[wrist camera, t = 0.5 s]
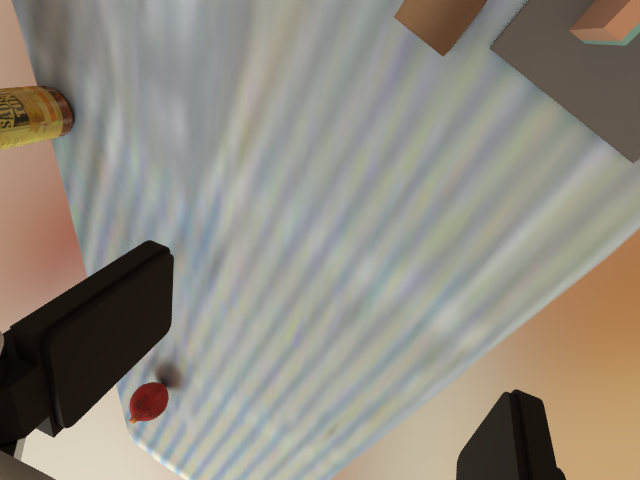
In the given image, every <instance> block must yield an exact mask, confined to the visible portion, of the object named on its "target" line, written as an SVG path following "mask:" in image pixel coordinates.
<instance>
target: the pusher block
mask: <svg viewBox="0 0 640 480" xmlns="http://www.w3.org/2000/svg"><path fill="white" fill-rule="evenodd" d="M486 2H487V0H405V1H404V2H403V4H402V5H401V7H400V8H399V10H398V11H397V13H396V14H395V16H394V18H396V19H397V20H398V21H399V22H401V23H402V24H403V25H404V26H406V27H407V28H408V29H409V30H411V31H412V32H413V33H414V34H416V35H417V36H418V37H419V38H421V39H422V40H423V41H424V42H426V43H427V44H428V45H429V46H431V47H432V48H433V49H434V50H436V51H437V52H438V53H439V54H441V55H442V56H444V55H445V54H446V53H448V52H449V51H450V49H451V48H452V47H453V45H454V44H455V43H456V41H457V40H458V39H459V38H460V36H461V35H462V34H463V32H464V31H465V30H466V28H467V27H468V26H469V25H470V23H471V22H472V21H473V19H474V18H475V17H476V15H477V14H478V13H479V12H480V10H481V9H482V8H483V6H484V5H485V3H486Z"/></svg>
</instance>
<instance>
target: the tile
mask: <svg viewBox="0 0 640 480" xmlns="http://www.w3.org/2000/svg"><path fill="white" fill-rule="evenodd" d="M569 31H570V32H571V33H573V34H574V35H575V36H576V37H578V38H579V39H580V40H581V41H583V42H584V43H585V44H603V45H620V46H626V45H627V44H628V43H629V42H630V41H631V40H632V39H633V38H634V37H635V36H636V35H637V34H638V33H639V32H640V0H596V1H595V2H594V3H593V4H592V5H591V6H590V8H589V9H588V10H587V11H586V12H585V13H584V14H583V15H582V16H581V17H580V18H579V20H578V21H577V22H576V23H575V24H574V25H573V26H572V27H571V28H570V29H569Z"/></svg>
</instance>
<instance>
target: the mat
mask: <svg viewBox="0 0 640 480" xmlns="http://www.w3.org/2000/svg"><path fill="white" fill-rule="evenodd" d="M595 1H596V0H529V1H528V2H527V4H526V5H525V6H524V7H523V8H522V10H521V11H520V12H519V13H518V14H517V16H516V17H515V18H514V19H513V20H512V22H511V23H510V24H509V25H508V27H507V28H506V29H505V30H504V31H503V33H502V34H501V35H500V36H499V37H498V39H497V40H496V41H495V42H494V43H493V45H492V46H491V47H490V49H491V50H493V51H494V52H495V53H496V54H498V55H499V56H500V57H501V58H503V59H504V60H505V61H506V62H508V63H509V64H510V65H511V66H513V67H514V68H515V69H516V70H518V71H519V72H520V73H521V74H523V75H524V76H525V77H526V78H528V79H529V80H530V81H531V82H533V83H534V84H535V85H536V86H537V87H539V88H540V89H541V90H542V91H544V92H545V93H546V94H547V95H549V96H550V97H551V98H552V99H554V100H555V101H556V102H557V103H559V104H560V105H561V106H562V107H564V108H565V109H566V110H567V111H569V112H570V113H571V114H572V115H574V116H575V117H576V118H577V119H579V120H580V121H581V122H582V123H584V124H585V125H586V126H587V127H589V128H590V129H591V130H592V131H593V132H595V133H596V134H597V135H598V136H600V137H601V138H602V139H603V140H605V141H606V142H607V143H608V144H610V145H611V146H612V147H613V148H615V149H616V150H617V151H618V152H620V153H621V154H622V155H623V156H625V157H626V158H627V159H628V160H630V161H631V162H632V163H634V162H636V161H637V160H638V159H639V158H640V32H639V33H638V34H637V35H636V36H635V37H634V38H633V39H632V40H631V41H630V42H629V43H628V44H627V45H626V46H620V45H603V44H585V43H584V42H583V41H581V40H580V39H579V38H578V37H576V36H575V35H574V34H573V33H571V32H570V31H569V29H570V28H571V27H572V26H573V25H574V24H575V23H576V22H577V21H578V20H579V18H580V17H581V16H582V15H583V14H584V13H585V12H586V11H587V10H588V9H589V8H590V6H591V5H592V4H593V3H594V2H595Z"/></svg>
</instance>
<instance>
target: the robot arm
mask: <svg viewBox="0 0 640 480" xmlns="http://www.w3.org/2000/svg"><path fill="white" fill-rule="evenodd" d="M173 266H174V257H173V255H172V254H170V250H169V248H168V247H166V246H163V245H161V244H158V243H156V242H154V241H151V240H148V241H146V242H144V243H142V244H141V245H139V246H137V247H136V248H134V249H133V250H131V251H129V252H128V253H126V254H125V255H123V256H121V257H120V258H118V259H117V260H115V261H114V262H112V263H110V264H109V265H107V266H106V267H104V268H102V269H101V270H99V271H98V272H96V273H94V274H93V275H91V276H90V277H88V278H87V279H85V280H83V281H82V282H80V283H79V284H77V285H75V286H74V287H72V288H71V289H69V290H68V291H66V292H64V293H63V294H61V295H60V296H58V297H56V298H55V299H53V300H52V301H50V302H48V303H47V304H45V305H44V306H42V307H40V308H39V309H37V310H36V311H34V312H33V313H31V314H30V315H28V316H26V317H25V318H23V319H21V320H20V321H18V322H17V323H15V324H13V325H12V326H10V328H11V329H10V330H8V331H6V332H5V333H3V334H2V333H1V331H0V480H55V479H53V478H52V477H50V476H48V475H46V474H44V473H43V472H41V471H39V470H37V469H35V468H33V467H31V466H29V465H27V464H25V463H23V462H21V461H20V460H21V456H22V452H23V447H24V443H25V438H26V436H27V435H29V434H30V433H31V432H32V431H33V430H34V429H35V428H36V429H39V430H40V431H42V432H44V433H46V434H48V435H49V436H51V437H55V436H56V435H57V434H58V433H59V432H60V431H61V430H62V429H63V428H69V427H71V426H73V425H74V424H75V423H76V422H77V421H78V420H79V419H80V418H81V417H82V416H84V415H85V413H87V412H88V411H89V410H90V409H91V408H92V406H94V405H95V404H96V403H97V402H98V401H99V400H100V399H101V398H102V397H103V396H104V395H105V394H106V393H107V392H108V391H109V390H110V389H111V388H112V387H113V386H114V385H115V384H116V383H117V382H118V381H119V380H120V379H121V378H122V377H123V376H124V375H125V374H126V373H127V372H128V371H129V370H130V369H131V368H132V367H133V366H134V365H135V364H136V363H137V362H139V361H140V360H141V359H142V358H143V357H144V356H145V355H146V354H147V353H148V352H149V351H150V350H151V349H152V348H153V347H154V346H155V345H156V344H157V343H158V342H159V341H160V340H161V339H162V338H163V337H164V336H165V335H166V334H167V332H168V331H169V329H170V326H171V321H172V293H173ZM456 475H457V476H456V477H457V478H456V480H566V478H565V475H564V473H563V472H562V471H561V469H559V468H557V466H556V461H555V456H554V451H553V447H552V442H551V437H550V432H549V427H548V423H547V418H546V413H545V408H544V404H543V401H542V400H541V399H539V398H537V397H534V396H532V395H529V394H527V393H524V392H522V391H520V390H513V392H512V393H509V392H504V393H503V394H502V395H501V397H500V398H499V400H498V401H497V402H496V404H495V405H494V407H493V408H492V409H491V411H490V412H489V413H488V415H487V417H486V418H485V419H484V420H483V422H482V423H481V424H480V426H479V427H478V429H477V430H476V431H475V433H474V434H473V436H472V437H471V438H470V440H469V441H468V443H467V444H466V445H465V447H464V448H463V450H462V451H461V453H460V455H459V457H458V461H457V474H456Z"/></svg>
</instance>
